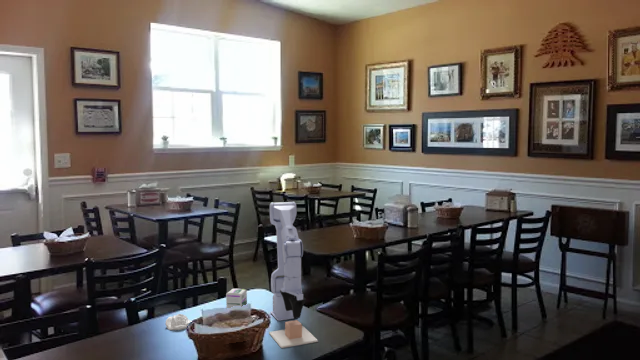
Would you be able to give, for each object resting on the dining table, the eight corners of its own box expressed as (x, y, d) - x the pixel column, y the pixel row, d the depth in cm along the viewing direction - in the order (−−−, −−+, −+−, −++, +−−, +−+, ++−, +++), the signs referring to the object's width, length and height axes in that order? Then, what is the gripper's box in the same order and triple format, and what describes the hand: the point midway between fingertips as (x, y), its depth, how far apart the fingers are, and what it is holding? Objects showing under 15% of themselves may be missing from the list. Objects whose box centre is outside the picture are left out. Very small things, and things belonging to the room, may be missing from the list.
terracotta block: (285, 334, 177) (285, 321, 176) (297, 332, 179) (297, 320, 178) (289, 339, 173) (289, 326, 172) (301, 337, 175) (301, 324, 174)
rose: (162, 312, 188) (188, 307, 193) (163, 323, 189) (189, 319, 193) (168, 321, 179) (195, 316, 184) (168, 333, 180) (195, 328, 184)
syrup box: (242, 333, 179) (241, 293, 177) (226, 332, 180) (225, 292, 178) (247, 327, 184) (247, 288, 183) (232, 326, 185) (231, 287, 184)
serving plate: (269, 333, 179) (269, 331, 179) (303, 327, 184) (303, 326, 184) (281, 348, 167) (281, 346, 167) (317, 341, 172) (317, 340, 172)
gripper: (274, 271, 178) (275, 308, 180) (289, 282, 165) (289, 323, 167) (293, 269, 181) (293, 305, 183) (309, 280, 168) (309, 320, 169)
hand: (292, 314), depth 175 cm, fingers open, 7 cm apart
